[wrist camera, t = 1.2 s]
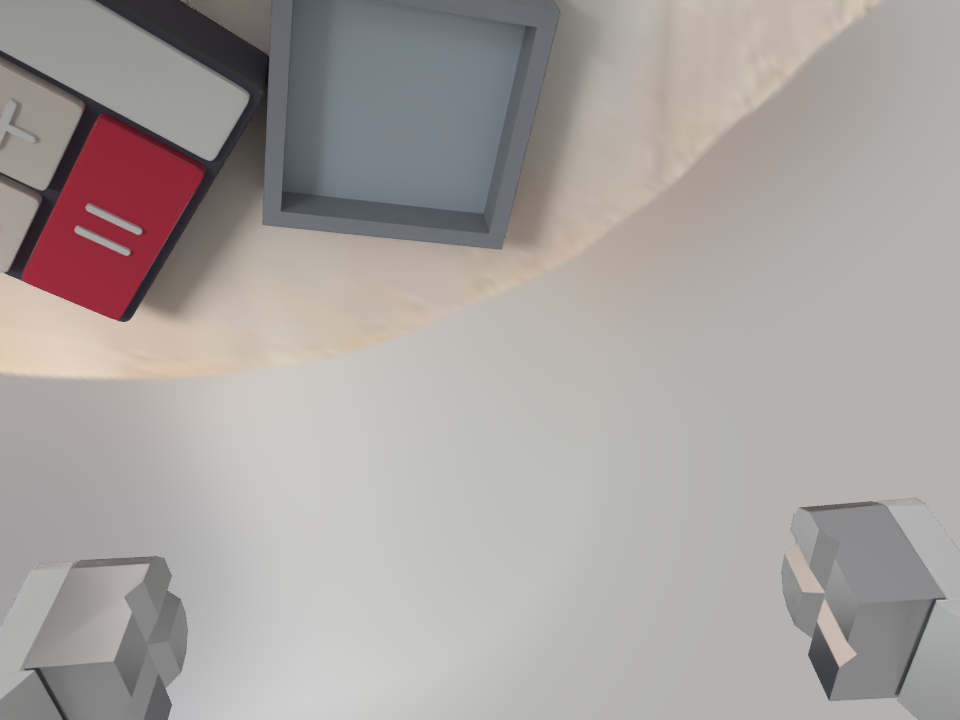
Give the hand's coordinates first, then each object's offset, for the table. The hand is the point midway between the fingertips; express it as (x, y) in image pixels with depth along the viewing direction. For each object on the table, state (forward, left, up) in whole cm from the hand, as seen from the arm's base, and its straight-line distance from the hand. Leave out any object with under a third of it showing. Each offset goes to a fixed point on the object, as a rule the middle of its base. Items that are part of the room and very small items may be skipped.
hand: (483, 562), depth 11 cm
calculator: (+10, -12, -32) cm, 36 cm away
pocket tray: (+6, +2, -32) cm, 32 cm away
